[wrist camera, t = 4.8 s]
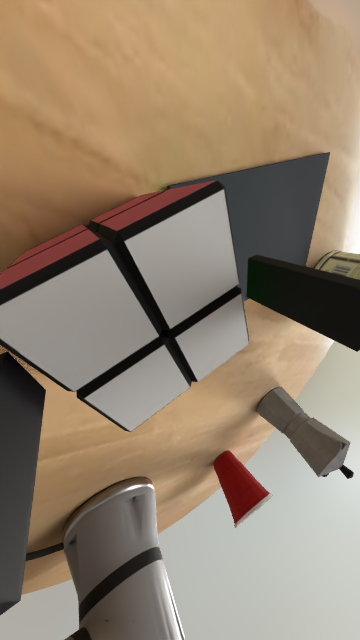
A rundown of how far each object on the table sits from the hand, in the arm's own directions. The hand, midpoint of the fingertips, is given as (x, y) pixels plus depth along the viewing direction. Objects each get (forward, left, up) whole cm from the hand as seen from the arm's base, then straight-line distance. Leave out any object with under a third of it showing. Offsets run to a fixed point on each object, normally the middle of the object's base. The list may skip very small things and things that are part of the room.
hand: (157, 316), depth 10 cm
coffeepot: (+24, -43, -9) cm, 50 cm away
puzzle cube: (0, 0, -9) cm, 9 cm away
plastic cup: (+8, -55, -9) cm, 56 cm away
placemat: (+16, -1, -8) cm, 18 cm away
